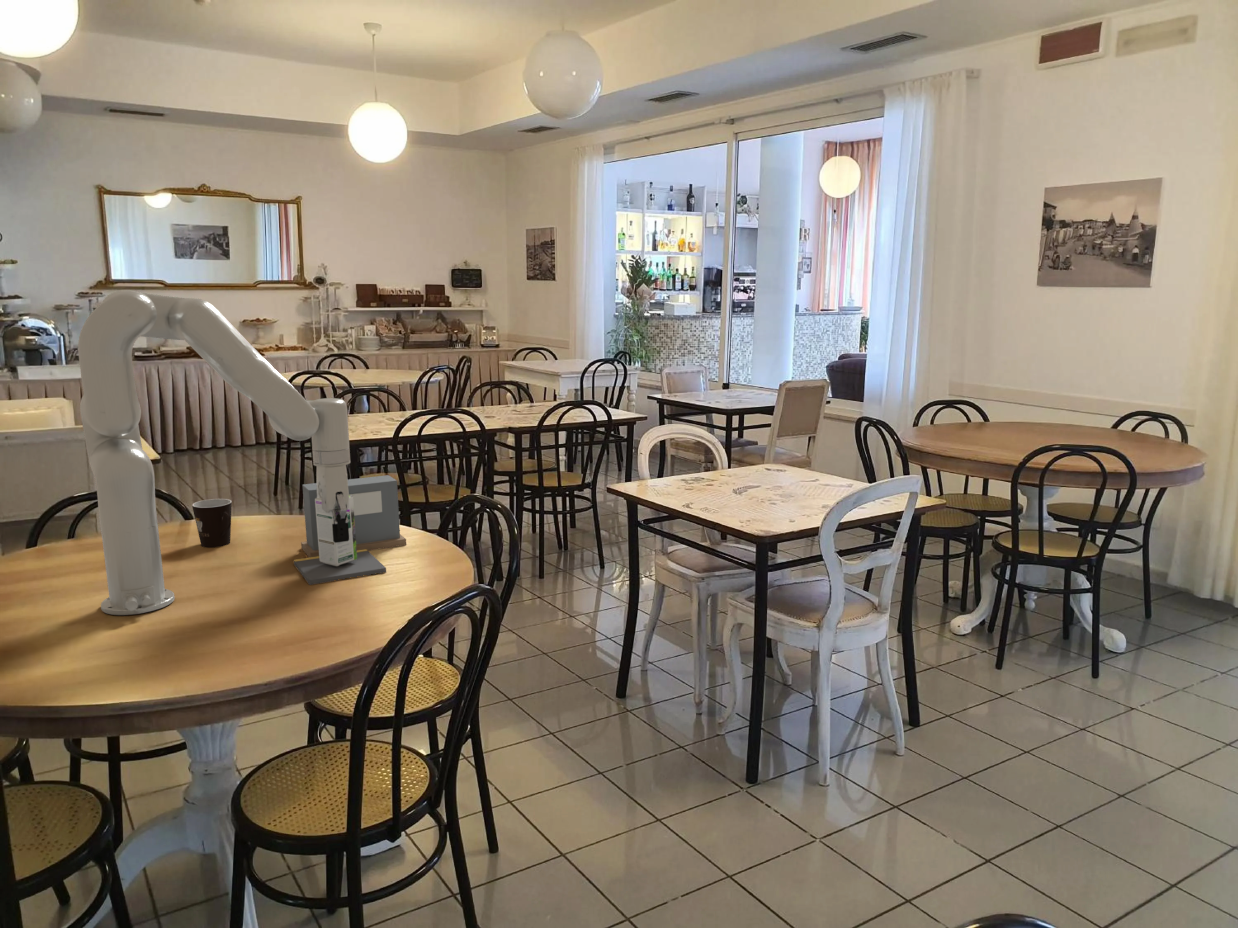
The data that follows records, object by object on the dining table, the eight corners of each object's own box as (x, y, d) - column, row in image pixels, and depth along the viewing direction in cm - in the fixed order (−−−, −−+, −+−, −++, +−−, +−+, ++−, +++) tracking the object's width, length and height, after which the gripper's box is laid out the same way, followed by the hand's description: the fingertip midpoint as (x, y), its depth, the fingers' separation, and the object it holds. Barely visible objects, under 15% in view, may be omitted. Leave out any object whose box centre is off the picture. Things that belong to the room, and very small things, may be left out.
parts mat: (386, 572, 194) (386, 567, 194) (309, 584, 186) (309, 579, 186) (366, 553, 207) (366, 548, 207) (293, 564, 199) (293, 559, 199)
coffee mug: (195, 541, 218) (191, 501, 216) (234, 537, 221) (231, 497, 219) (196, 554, 207) (191, 512, 205) (236, 549, 211) (232, 508, 209)
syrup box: (337, 566, 192) (333, 501, 189) (318, 561, 195) (314, 497, 192) (357, 559, 197) (354, 495, 194) (339, 554, 200) (335, 491, 197)
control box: (406, 544, 214) (403, 481, 211) (310, 559, 203) (305, 492, 200) (394, 534, 222) (390, 473, 219) (301, 548, 212) (296, 483, 208)
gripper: (304, 452, 197) (310, 529, 201) (322, 465, 182) (328, 549, 186) (339, 449, 201) (344, 525, 204) (360, 462, 186) (364, 544, 190)
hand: (336, 536), depth 195 cm, fingers open, 7 cm apart
